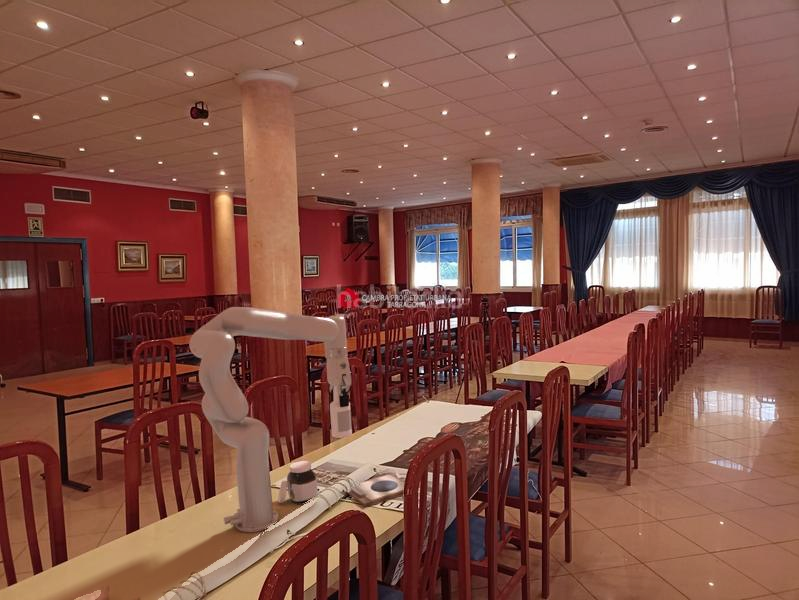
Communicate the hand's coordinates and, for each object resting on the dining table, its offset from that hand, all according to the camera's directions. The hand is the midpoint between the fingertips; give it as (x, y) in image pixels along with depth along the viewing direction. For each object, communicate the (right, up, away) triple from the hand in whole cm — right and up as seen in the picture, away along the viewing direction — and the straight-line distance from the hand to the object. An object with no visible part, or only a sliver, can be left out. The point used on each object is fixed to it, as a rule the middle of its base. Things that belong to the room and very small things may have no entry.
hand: (339, 404), depth 186 cm
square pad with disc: (+13, -27, -6) cm, 31 cm away
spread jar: (-13, -30, -9) cm, 34 cm away
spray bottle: (+1, -11, +1) cm, 11 cm away
